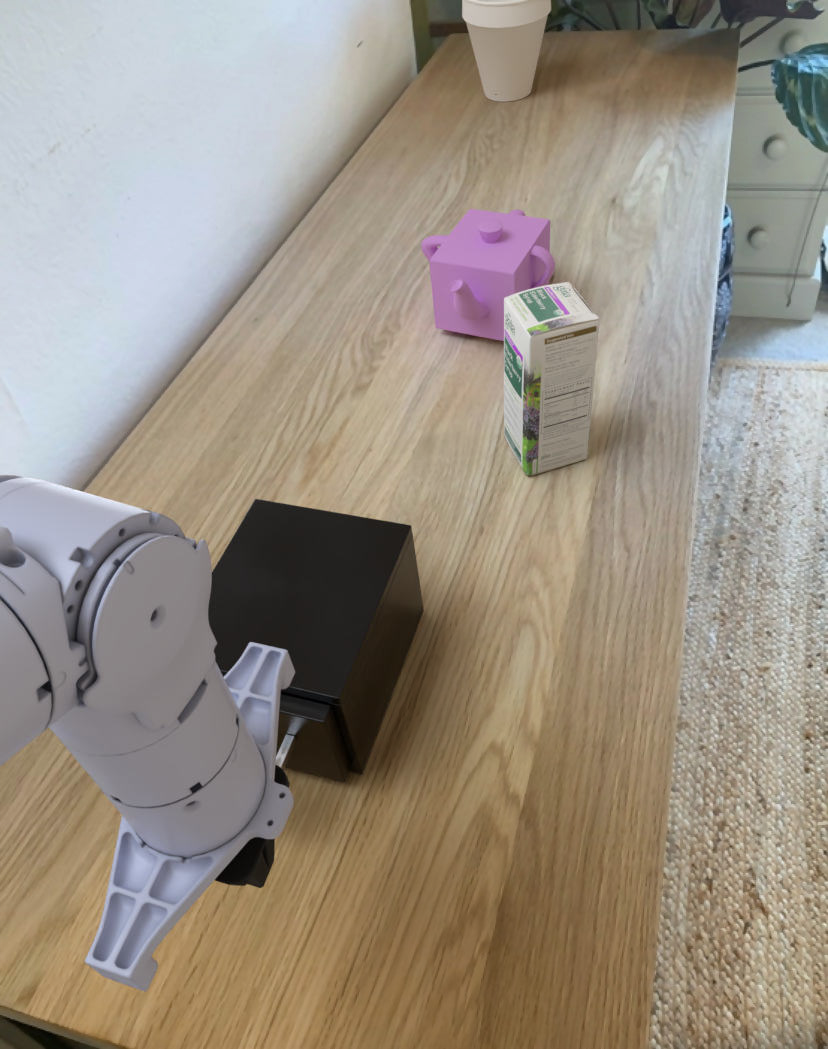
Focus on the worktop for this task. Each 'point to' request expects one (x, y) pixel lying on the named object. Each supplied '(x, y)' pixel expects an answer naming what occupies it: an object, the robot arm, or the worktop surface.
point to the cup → (506, 43)
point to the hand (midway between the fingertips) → (250, 869)
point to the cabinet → (322, 608)
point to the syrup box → (548, 376)
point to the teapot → (486, 268)
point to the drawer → (310, 739)
